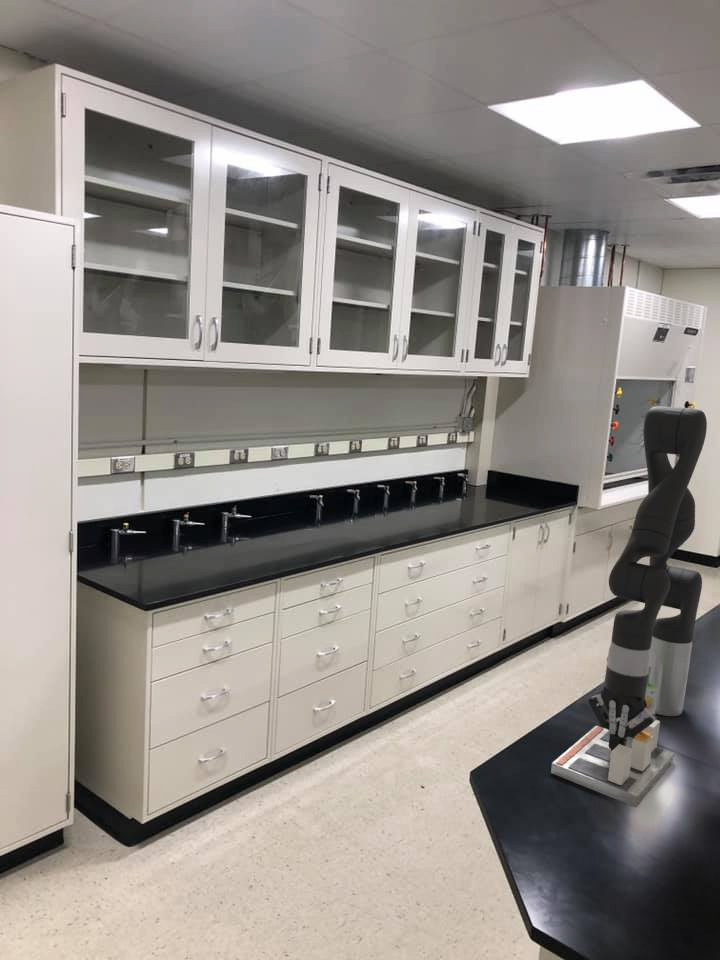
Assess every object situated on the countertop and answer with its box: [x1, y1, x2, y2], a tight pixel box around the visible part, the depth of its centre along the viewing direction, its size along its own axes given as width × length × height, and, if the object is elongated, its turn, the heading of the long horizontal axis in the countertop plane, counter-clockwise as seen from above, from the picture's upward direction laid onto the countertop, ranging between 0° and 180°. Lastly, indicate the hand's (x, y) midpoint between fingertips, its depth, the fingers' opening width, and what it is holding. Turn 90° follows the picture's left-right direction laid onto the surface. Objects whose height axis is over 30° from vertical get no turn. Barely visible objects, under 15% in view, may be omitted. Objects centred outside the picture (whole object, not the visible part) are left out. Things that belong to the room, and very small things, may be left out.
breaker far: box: [643, 719, 661, 753], centre depth 151 cm, size 4×2×6 cm, turn 142°
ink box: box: [630, 667, 658, 728], centre depth 164 cm, size 7×4×13 cm, turn 98°
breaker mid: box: [630, 731, 653, 771], centre depth 144 cm, size 4×2×6 cm, turn 142°
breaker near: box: [608, 744, 633, 785], centre depth 139 cm, size 4×2×6 cm, turn 142°
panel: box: [550, 725, 675, 808], centre depth 148 cm, size 22×16×2 cm
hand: (616, 752), depth 148 cm, fingers closed
